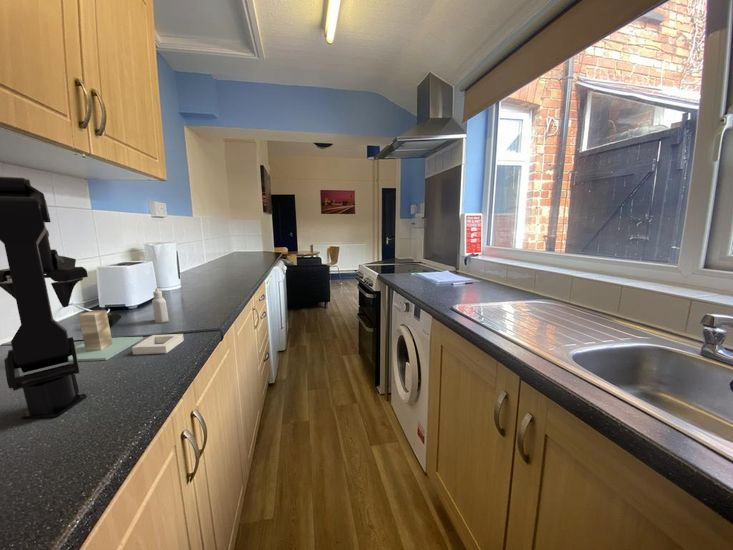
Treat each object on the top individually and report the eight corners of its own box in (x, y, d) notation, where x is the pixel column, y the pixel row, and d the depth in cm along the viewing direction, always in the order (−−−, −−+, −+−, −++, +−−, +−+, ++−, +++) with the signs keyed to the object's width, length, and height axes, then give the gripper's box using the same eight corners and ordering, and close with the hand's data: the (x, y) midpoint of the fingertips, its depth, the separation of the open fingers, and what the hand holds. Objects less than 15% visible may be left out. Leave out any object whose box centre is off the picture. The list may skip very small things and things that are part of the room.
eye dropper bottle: (170, 317, 109) (165, 285, 107) (168, 322, 104) (163, 288, 102) (155, 319, 107) (150, 287, 105) (153, 324, 102) (147, 290, 100)
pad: (106, 360, 76) (105, 357, 76) (48, 362, 76) (47, 360, 76) (143, 338, 90) (142, 336, 90) (94, 340, 89) (93, 338, 89)
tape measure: (113, 328, 100) (111, 317, 99) (87, 331, 98) (85, 320, 97) (122, 321, 106) (120, 311, 106) (98, 324, 104) (96, 313, 103)
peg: (101, 350, 81) (94, 314, 79) (85, 350, 81) (78, 315, 79) (112, 344, 85) (106, 310, 83) (97, 344, 85) (91, 310, 83)
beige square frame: (166, 353, 80) (165, 346, 79) (133, 354, 79) (131, 347, 79) (183, 340, 88) (182, 333, 88) (153, 341, 88) (152, 335, 87)
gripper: (99, 243, 83) (109, 298, 86) (28, 244, 82) (41, 299, 85) (61, 247, 72) (73, 310, 75) (-22, 248, 71) (-5, 312, 74)
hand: (47, 307), depth 77 cm, fingers open, 9 cm apart
